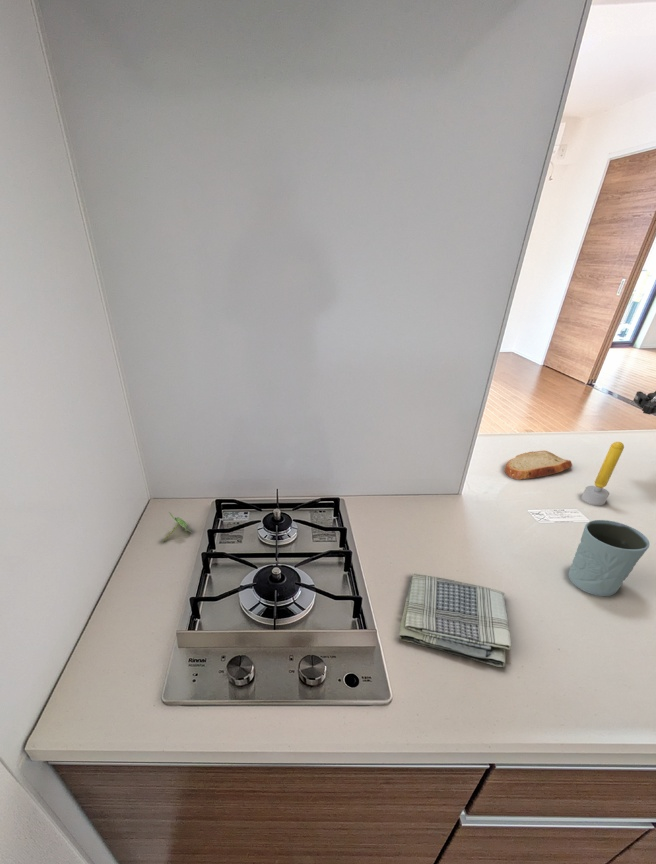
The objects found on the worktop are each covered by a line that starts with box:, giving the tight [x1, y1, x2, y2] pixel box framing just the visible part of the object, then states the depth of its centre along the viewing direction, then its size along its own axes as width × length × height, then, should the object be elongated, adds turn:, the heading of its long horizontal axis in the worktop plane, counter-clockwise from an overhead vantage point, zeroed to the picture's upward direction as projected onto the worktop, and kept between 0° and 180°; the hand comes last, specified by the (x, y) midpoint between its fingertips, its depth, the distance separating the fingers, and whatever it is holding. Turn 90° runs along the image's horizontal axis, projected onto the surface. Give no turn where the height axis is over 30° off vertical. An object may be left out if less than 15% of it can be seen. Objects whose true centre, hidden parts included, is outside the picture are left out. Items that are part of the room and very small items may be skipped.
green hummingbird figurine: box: [162, 511, 192, 543], centre depth 104 cm, size 7×8×6 cm
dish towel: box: [398, 573, 512, 668], centre depth 80 cm, size 19×18×3 cm
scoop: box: [581, 441, 625, 506], centre depth 110 cm, size 5×5×17 cm
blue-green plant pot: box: [568, 519, 650, 597], centre depth 86 cm, size 10×10×12 cm
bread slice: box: [504, 450, 573, 481], centre depth 128 cm, size 18×18×4 cm
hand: (648, 409), depth 107 cm, fingers closed
